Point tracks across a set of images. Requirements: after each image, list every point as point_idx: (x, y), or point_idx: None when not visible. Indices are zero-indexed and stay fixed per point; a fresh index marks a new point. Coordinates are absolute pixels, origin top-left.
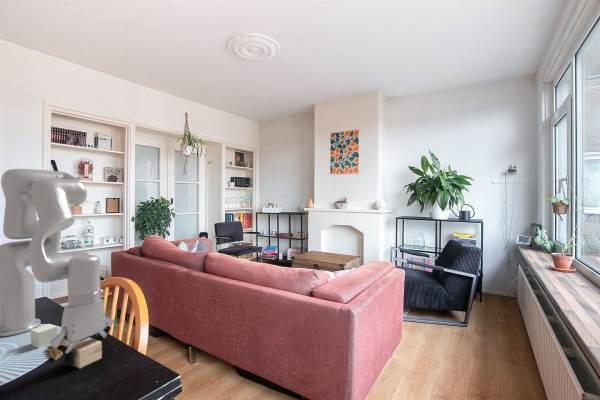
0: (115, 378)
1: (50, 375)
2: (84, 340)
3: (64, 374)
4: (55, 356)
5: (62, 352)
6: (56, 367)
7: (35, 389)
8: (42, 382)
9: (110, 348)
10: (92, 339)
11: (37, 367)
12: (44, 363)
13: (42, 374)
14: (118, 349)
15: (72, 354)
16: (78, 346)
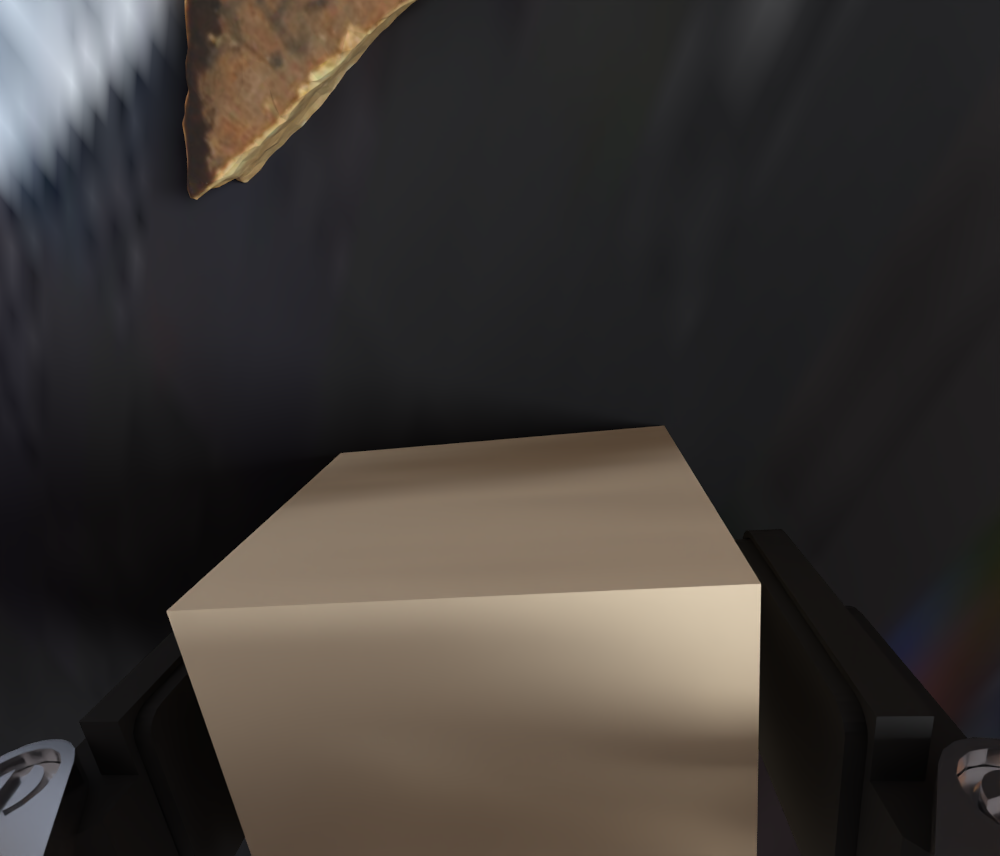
0: None
1: (134, 577)
2: (570, 641)
3: None
4: (207, 149)
5: (337, 63)
6: (213, 443)
7: (7, 707)
8: (60, 645)
9: (927, 557)
10: (719, 764)
11: (17, 197)
12: (101, 142)
13: (66, 474)
14: (953, 685)
15: (231, 847)
16: (346, 809)
